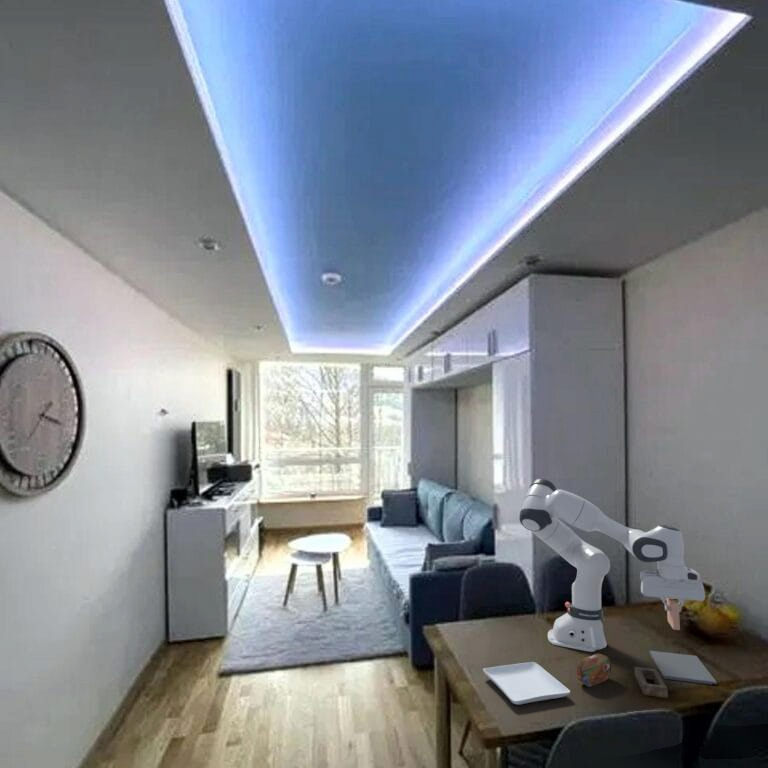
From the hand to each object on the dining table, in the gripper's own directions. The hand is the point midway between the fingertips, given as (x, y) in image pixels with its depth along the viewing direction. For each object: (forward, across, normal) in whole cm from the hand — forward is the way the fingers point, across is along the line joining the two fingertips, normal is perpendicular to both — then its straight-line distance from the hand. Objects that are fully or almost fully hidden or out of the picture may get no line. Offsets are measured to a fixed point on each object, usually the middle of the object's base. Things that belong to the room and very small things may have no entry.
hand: (672, 610), depth 180 cm
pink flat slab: (+5, 0, 0) cm, 5 cm away
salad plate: (+21, -52, -28) cm, 62 cm away
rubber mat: (+21, +3, +4) cm, 22 cm away
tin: (+21, -29, -16) cm, 39 cm away
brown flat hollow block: (+21, -11, -14) cm, 27 cm away
